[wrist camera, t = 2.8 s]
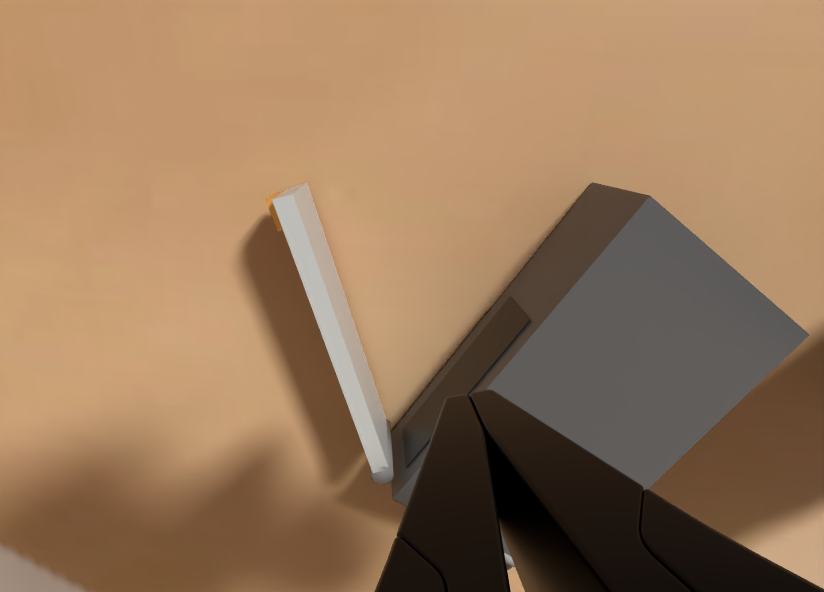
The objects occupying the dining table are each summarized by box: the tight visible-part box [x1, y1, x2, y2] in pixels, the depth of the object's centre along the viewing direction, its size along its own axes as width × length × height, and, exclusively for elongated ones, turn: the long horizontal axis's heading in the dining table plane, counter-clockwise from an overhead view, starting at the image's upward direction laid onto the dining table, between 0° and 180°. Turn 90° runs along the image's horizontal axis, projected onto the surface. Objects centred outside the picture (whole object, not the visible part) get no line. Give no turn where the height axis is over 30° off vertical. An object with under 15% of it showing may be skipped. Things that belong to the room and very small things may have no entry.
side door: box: [265, 183, 394, 484], centre depth 16 cm, size 11×1×3 cm, turn 14°
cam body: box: [391, 183, 809, 570], centre depth 17 cm, size 14×8×4 cm, turn 144°
